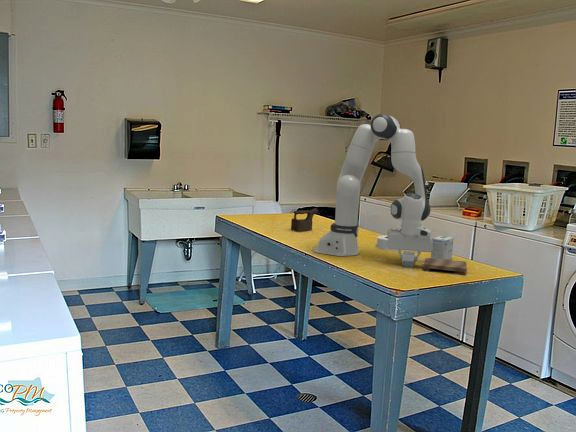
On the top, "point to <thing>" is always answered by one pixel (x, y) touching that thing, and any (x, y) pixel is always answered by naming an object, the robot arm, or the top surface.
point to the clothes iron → (303, 221)
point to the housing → (408, 259)
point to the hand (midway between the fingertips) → (408, 259)
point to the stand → (445, 265)
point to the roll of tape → (384, 243)
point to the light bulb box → (442, 247)
